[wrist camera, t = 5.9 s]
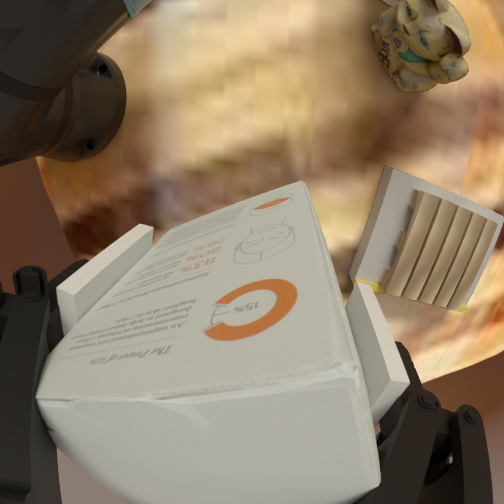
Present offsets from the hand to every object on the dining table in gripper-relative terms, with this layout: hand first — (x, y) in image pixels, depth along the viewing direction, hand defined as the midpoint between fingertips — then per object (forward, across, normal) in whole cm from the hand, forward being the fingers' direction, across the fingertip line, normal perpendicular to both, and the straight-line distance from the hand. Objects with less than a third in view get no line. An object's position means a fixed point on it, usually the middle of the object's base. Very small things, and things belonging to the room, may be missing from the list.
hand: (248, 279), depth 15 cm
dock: (+22, +21, 0) cm, 30 cm away
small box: (+3, 0, 0) cm, 3 cm away
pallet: (+19, +21, 0) cm, 28 cm away
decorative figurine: (+22, +10, +21) cm, 32 cm away
